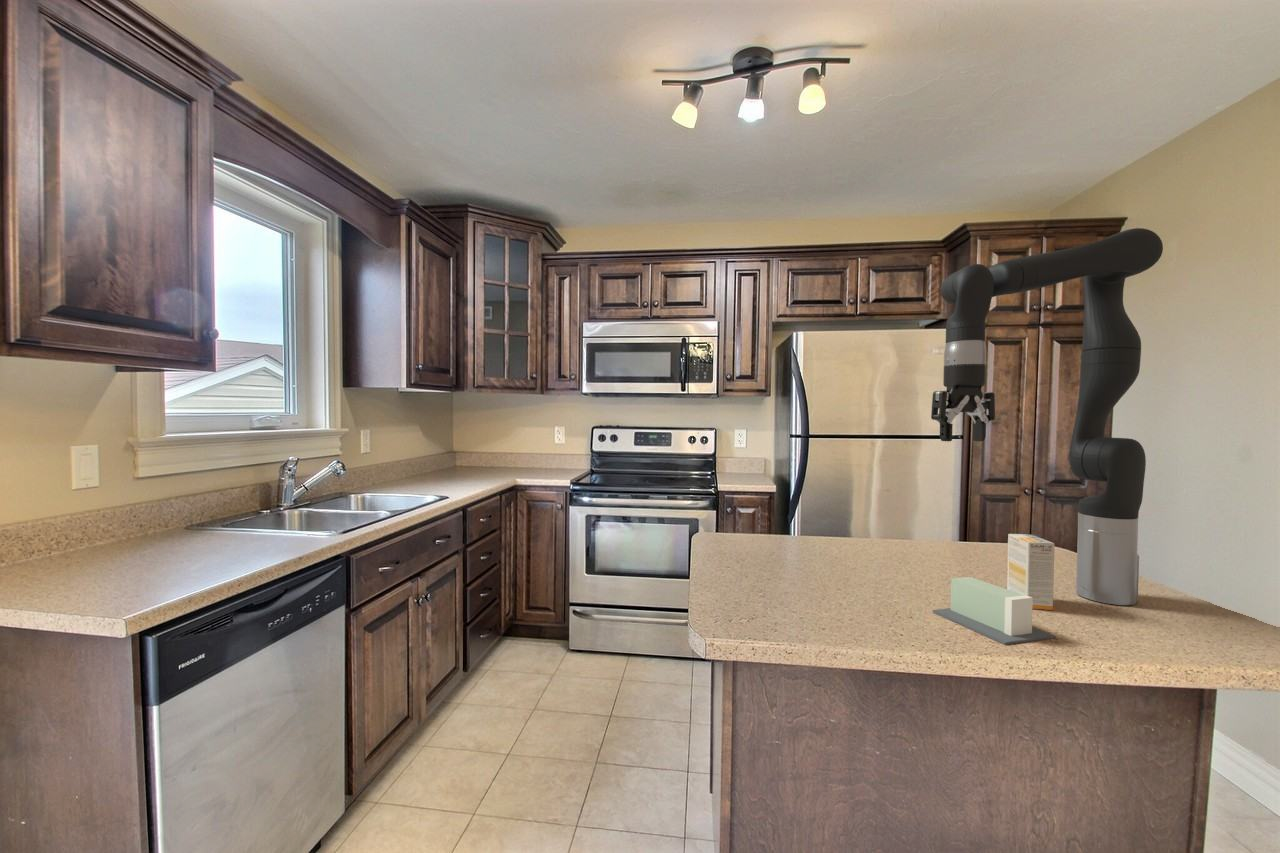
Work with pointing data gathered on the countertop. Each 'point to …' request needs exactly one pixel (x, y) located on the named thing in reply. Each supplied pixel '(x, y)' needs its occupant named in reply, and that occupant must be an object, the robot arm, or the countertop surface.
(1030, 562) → the supplement box
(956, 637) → the countertop surface
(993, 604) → the sage block
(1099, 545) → the robot arm
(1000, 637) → the mat
